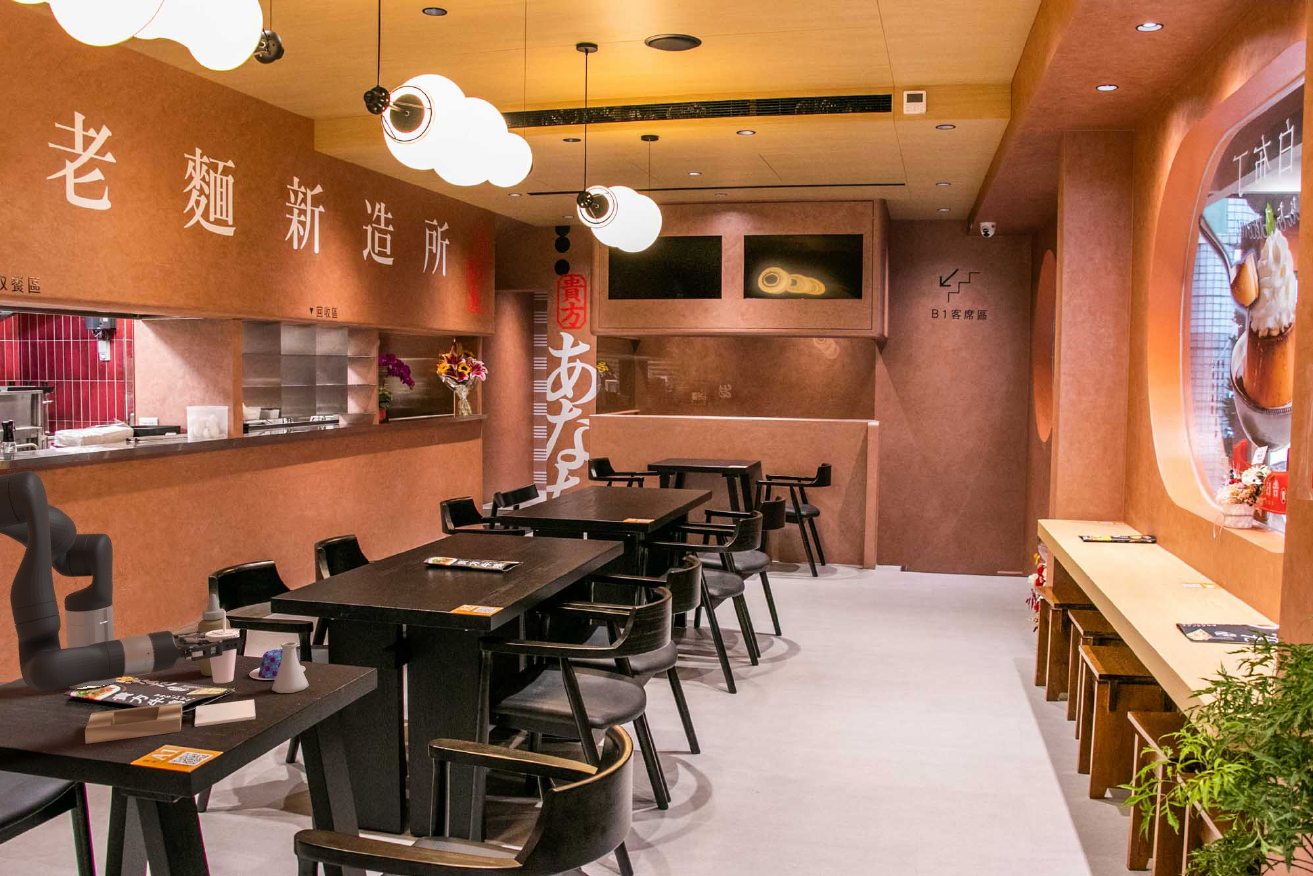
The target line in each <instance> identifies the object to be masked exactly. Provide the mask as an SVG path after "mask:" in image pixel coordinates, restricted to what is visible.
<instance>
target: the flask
mask: <svg viewBox="0 0 1313 876" xmlns="http://www.w3.org/2000/svg"><path fill="white" fill-rule="evenodd" d="M297 646H298V642H296V641H287V642H282V643H281V644H280V647H281V649H282V660H281V664H280V667H279V670H278V673H277V676H276V679H275V680H274V682H273V685H272V688H271V691H273V692H276V693H278V694H279V693H280V694H284V693H285V694H294V693H297V692H302V691H304V690H305V689H307V688H308V687H309V686H310V684H309V681H308V679H307V678H306V676H305V673H304V672H303V671H302V668H301V666H300V665H301V664H300V661H299V659H298V655H297V654H298V653H297Z"/></svg>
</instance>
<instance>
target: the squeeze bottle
mask: <svg viewBox="0 0 1313 876" xmlns="http://www.w3.org/2000/svg"><path fill="white" fill-rule="evenodd" d="M223 611H226V610H225V609H224V608H220V605H219V602H218V598H217V595H216V594H215V593H213V594H209V599H208V604H207V609H205V610H203V611H202V612H201V614H202V615H201V616H202V620H200V621H199V622H197V623H198V624H197V631H201V632H202V633H203V632H207V633H208V632H210V631H214V630H221V629H223ZM230 624H231V623H230V620H229V619H228V618H226V629H231V625H230ZM196 663H197V666H198V667H199V670H200V673H201V675H203V676H207V677H209V676H210V677H213V676H212V670H211V664H210V658H207V659H202V660H197V661H196Z"/></svg>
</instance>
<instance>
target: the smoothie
mask: <svg viewBox="0 0 1313 876" xmlns="http://www.w3.org/2000/svg"><path fill="white" fill-rule="evenodd" d="M226 614H227V613H226V610H225V611H223V629H221V630H214V631H210V632H208V633H206V634H205V638H209V639H210V640H219V639H220V640H222V639H228V638H234V637H240V631H239V630H238V629H235V628H230V629H226V619H227V617H226V616H227V615H226ZM211 650H216V647H212V648H211ZM236 657H237V649H233V650H228V651H223V655H221V656H216V657H211V658H210V664H211V670H212V676H211V677H212V681H213V683H215V684H225V683H230V682H233V681H234V675H235V667H236Z"/></svg>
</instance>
